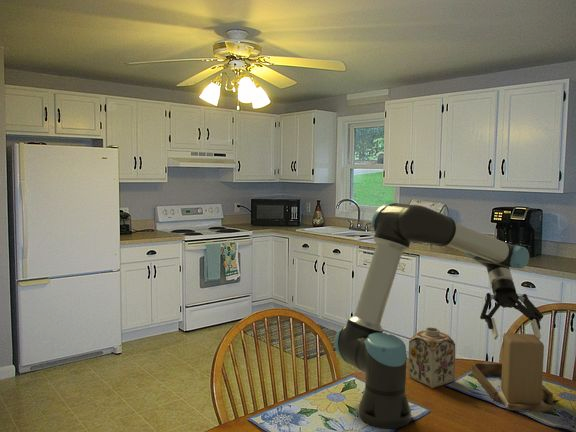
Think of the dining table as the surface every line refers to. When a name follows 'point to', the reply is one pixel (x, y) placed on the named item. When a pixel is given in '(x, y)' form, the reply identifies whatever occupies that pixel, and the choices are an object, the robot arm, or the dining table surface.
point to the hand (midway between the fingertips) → (517, 338)
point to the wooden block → (522, 368)
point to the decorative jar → (431, 358)
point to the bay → (496, 369)
